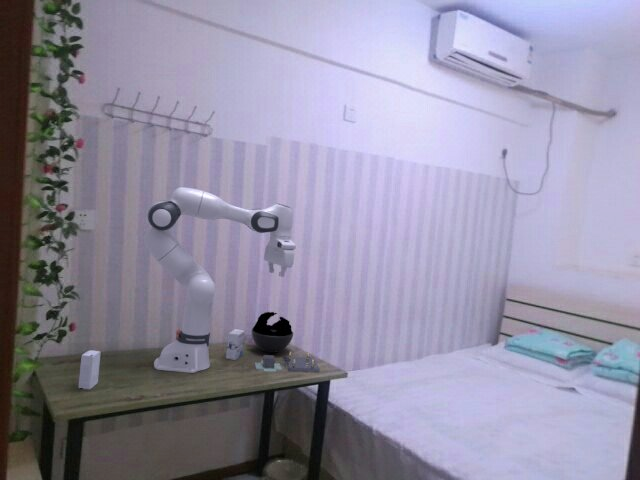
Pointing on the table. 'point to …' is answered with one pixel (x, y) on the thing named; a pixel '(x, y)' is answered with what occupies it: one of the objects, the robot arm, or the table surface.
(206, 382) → the table surface
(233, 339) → the ink box
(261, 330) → the coal bowl
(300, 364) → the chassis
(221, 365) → the table surface
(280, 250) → the robot arm
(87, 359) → the skincare box
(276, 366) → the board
